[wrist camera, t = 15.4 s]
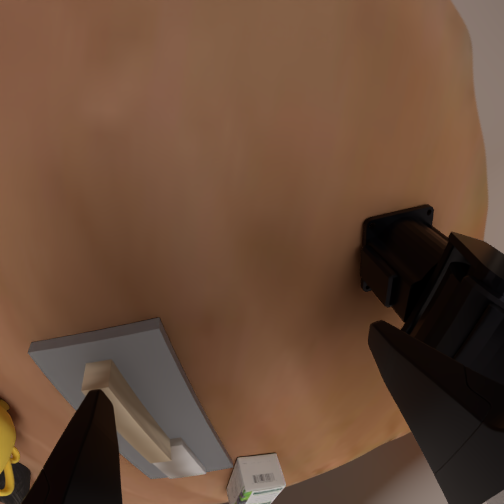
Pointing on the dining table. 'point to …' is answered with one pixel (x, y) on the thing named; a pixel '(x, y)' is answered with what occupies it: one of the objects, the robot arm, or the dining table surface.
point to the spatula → (140, 423)
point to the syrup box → (255, 480)
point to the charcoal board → (137, 385)
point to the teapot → (7, 448)
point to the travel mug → (16, 484)
